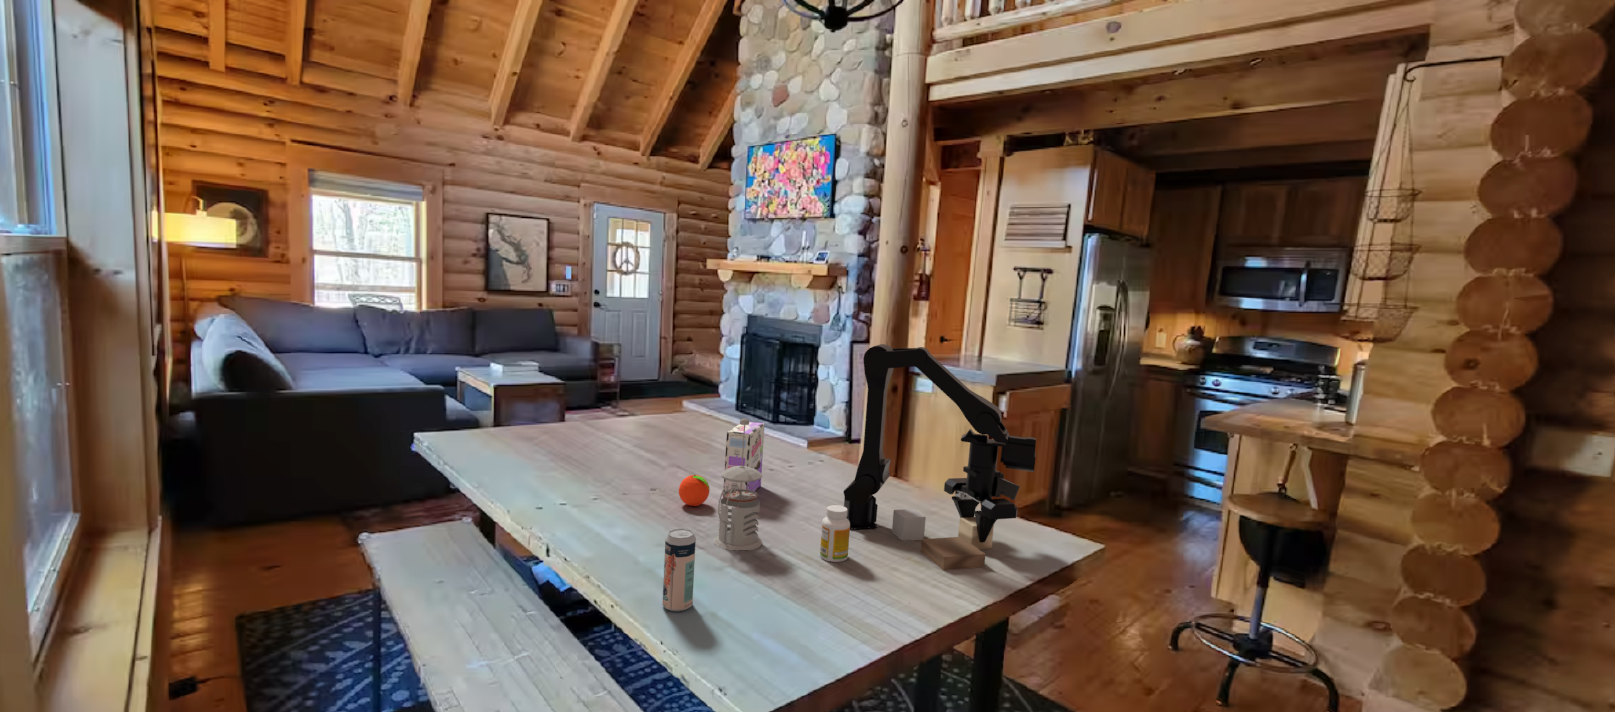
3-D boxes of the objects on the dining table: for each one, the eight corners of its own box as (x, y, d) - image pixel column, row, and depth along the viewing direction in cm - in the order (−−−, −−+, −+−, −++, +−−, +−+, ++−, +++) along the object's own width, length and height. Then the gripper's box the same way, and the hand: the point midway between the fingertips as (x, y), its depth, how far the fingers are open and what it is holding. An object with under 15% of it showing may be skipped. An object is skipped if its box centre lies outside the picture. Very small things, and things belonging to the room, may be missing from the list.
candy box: (746, 502, 162) (750, 433, 161) (722, 499, 164) (725, 430, 162) (761, 486, 176) (765, 422, 174) (739, 483, 177) (743, 419, 175)
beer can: (664, 598, 112) (667, 527, 111) (693, 599, 113) (697, 528, 111) (660, 613, 108) (663, 538, 106) (691, 613, 108) (695, 539, 107)
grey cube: (902, 541, 145) (904, 517, 144) (891, 532, 150) (893, 509, 149) (923, 539, 146) (925, 516, 146) (912, 531, 151) (914, 508, 151)
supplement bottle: (850, 554, 136) (854, 506, 134) (843, 564, 130) (847, 514, 129) (824, 549, 137) (828, 501, 136) (816, 559, 132) (819, 510, 131)
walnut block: (942, 572, 131) (944, 557, 131) (920, 553, 140) (921, 539, 139) (984, 568, 134) (985, 554, 134) (959, 550, 143) (960, 536, 142)
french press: (771, 539, 141) (778, 418, 138) (742, 558, 130) (749, 427, 128) (729, 529, 145) (736, 411, 142) (698, 546, 134) (704, 420, 132)
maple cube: (970, 549, 142) (972, 526, 142) (957, 540, 147) (959, 517, 146) (991, 548, 144) (993, 524, 143) (978, 539, 149) (980, 516, 148)
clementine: (718, 506, 159) (720, 475, 158) (698, 513, 153) (699, 482, 152) (692, 498, 163) (693, 468, 162) (671, 505, 157) (672, 474, 156)
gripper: (1043, 476, 137) (1035, 552, 139) (989, 452, 155) (983, 519, 157) (995, 478, 134) (987, 556, 135) (945, 453, 151) (939, 522, 153)
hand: (975, 537), depth 145 cm, fingers closed on maple cube, 5 cm apart
